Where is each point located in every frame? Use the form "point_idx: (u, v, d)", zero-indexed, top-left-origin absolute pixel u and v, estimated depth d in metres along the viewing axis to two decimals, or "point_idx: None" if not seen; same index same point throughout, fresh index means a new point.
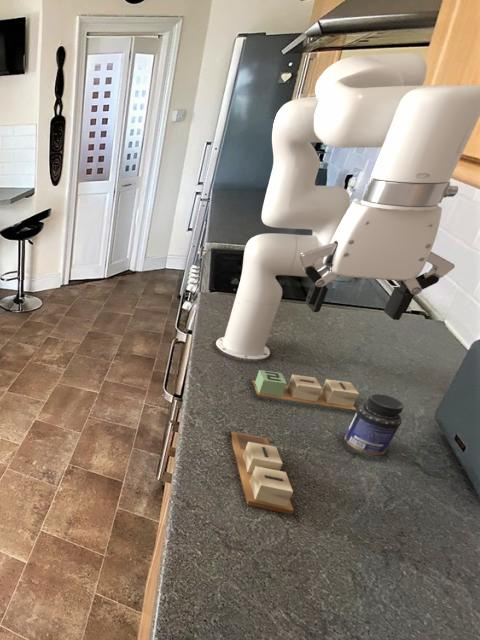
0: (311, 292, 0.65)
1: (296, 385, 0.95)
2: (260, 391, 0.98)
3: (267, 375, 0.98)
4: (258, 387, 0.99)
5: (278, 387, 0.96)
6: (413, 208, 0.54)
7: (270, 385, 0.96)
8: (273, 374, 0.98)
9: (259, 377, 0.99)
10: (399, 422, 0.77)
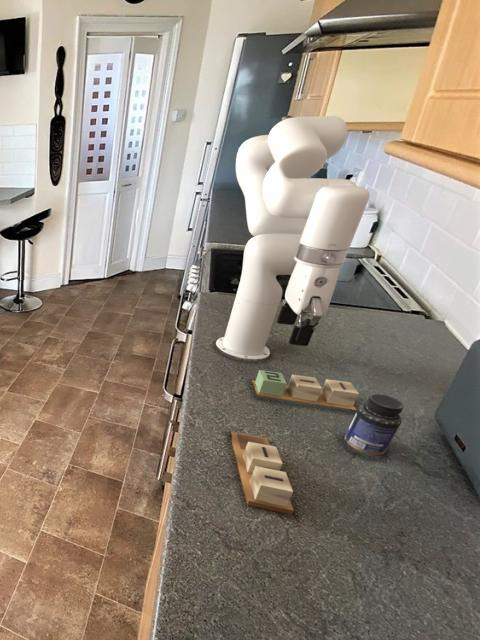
0: None
1: (296, 385, 0.95)
2: (260, 391, 0.98)
3: (267, 375, 0.98)
4: (258, 387, 0.99)
5: (278, 387, 0.96)
6: (295, 258, 0.84)
7: (270, 385, 0.96)
8: (273, 374, 0.98)
9: (259, 377, 0.99)
10: (399, 422, 0.77)
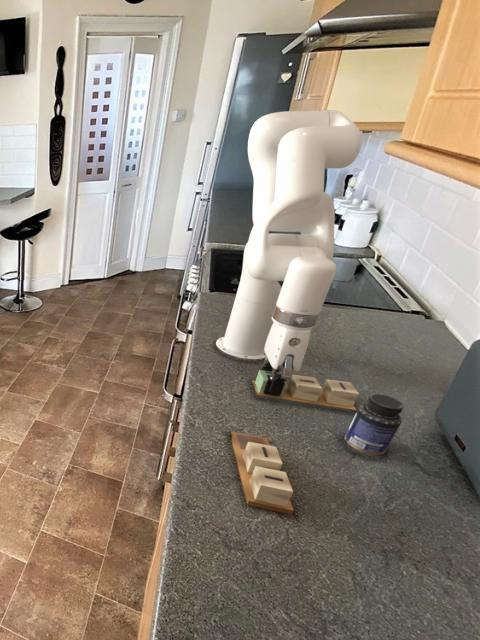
0: None
1: (296, 385, 0.95)
2: (260, 391, 0.98)
3: (267, 375, 0.98)
4: (258, 387, 0.99)
5: None
6: (272, 318, 0.92)
7: None
8: None
9: (259, 377, 0.99)
10: (399, 422, 0.77)
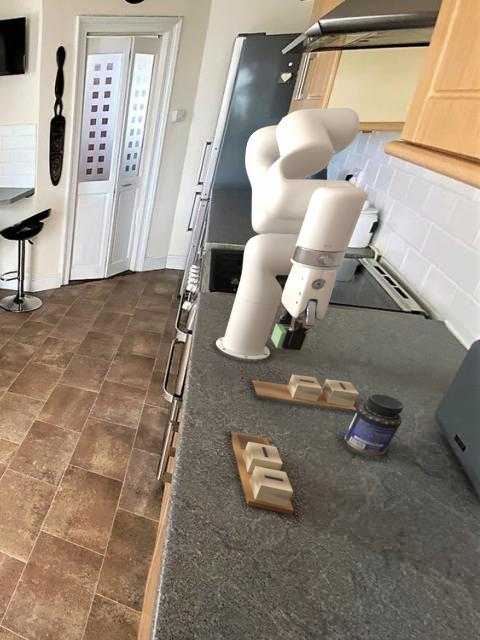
0: None
1: (296, 385, 0.95)
2: (278, 346, 0.87)
3: (285, 328, 0.87)
4: (275, 342, 0.88)
5: None
6: (292, 260, 0.82)
7: None
8: None
9: (276, 331, 0.89)
10: (399, 422, 0.77)
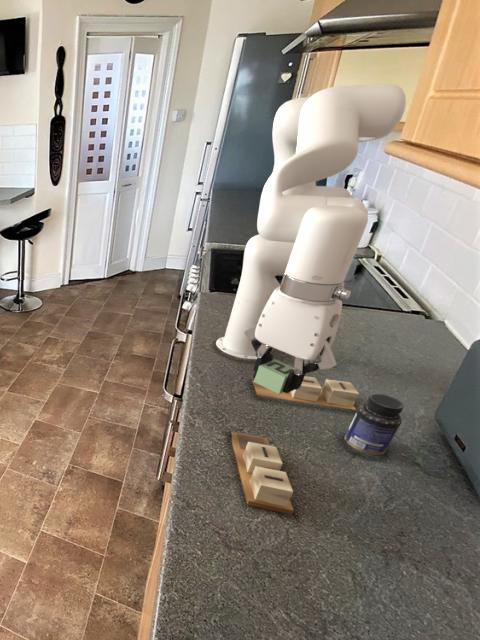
0: (257, 361, 0.78)
1: None
2: (280, 392, 0.74)
3: (276, 369, 0.75)
4: (272, 387, 0.75)
5: None
6: (294, 298, 0.67)
7: None
8: (274, 364, 0.76)
9: (267, 375, 0.75)
10: (399, 422, 0.77)
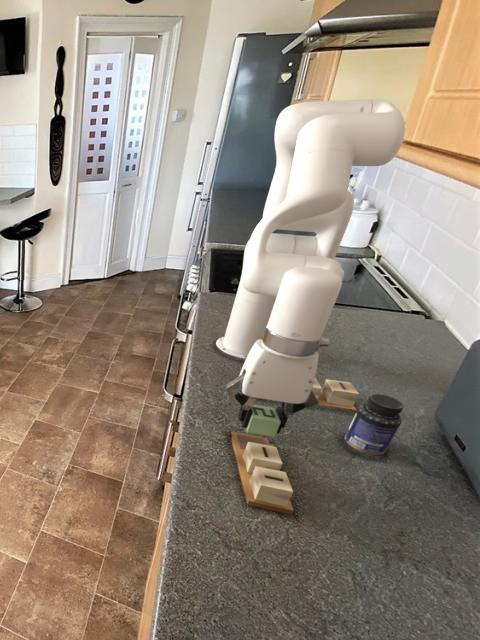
0: (241, 411, 0.81)
1: None
2: (275, 434, 0.79)
3: (264, 415, 0.79)
4: (267, 433, 0.79)
5: None
6: (294, 357, 0.70)
7: None
8: (256, 409, 0.81)
9: (262, 423, 0.79)
10: (399, 422, 0.77)
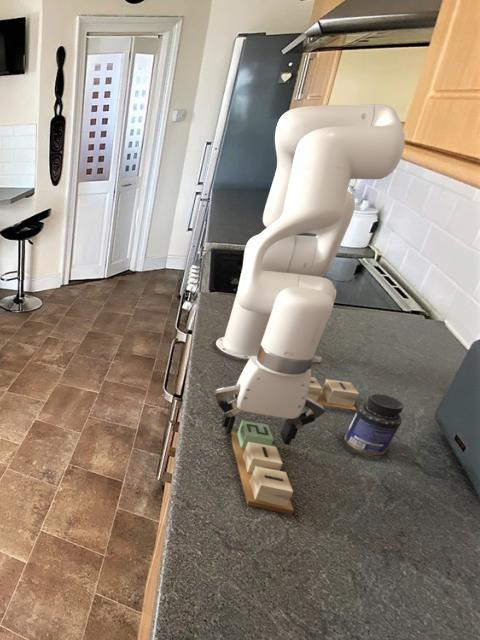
0: (224, 418, 0.83)
1: None
2: None
3: (258, 432, 0.81)
4: None
5: None
6: (287, 375, 0.72)
7: None
8: (249, 426, 0.83)
9: (255, 440, 0.81)
10: (399, 422, 0.77)
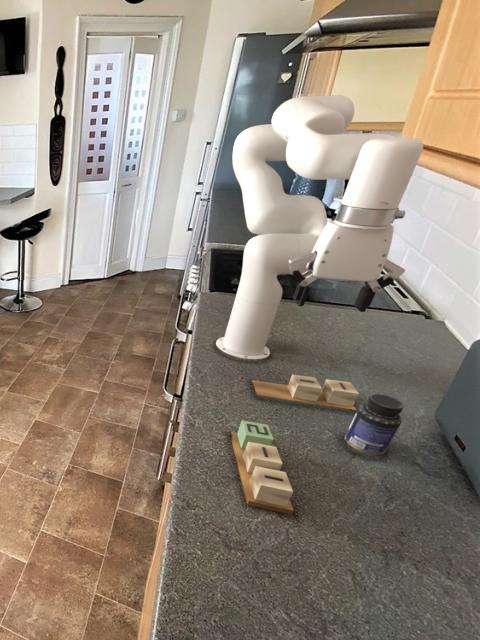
0: (297, 290, 0.83)
1: (296, 385, 0.95)
2: None
3: (258, 432, 0.81)
4: None
5: None
6: (371, 227, 0.72)
7: None
8: (249, 426, 0.83)
9: (255, 440, 0.81)
10: (399, 422, 0.77)
